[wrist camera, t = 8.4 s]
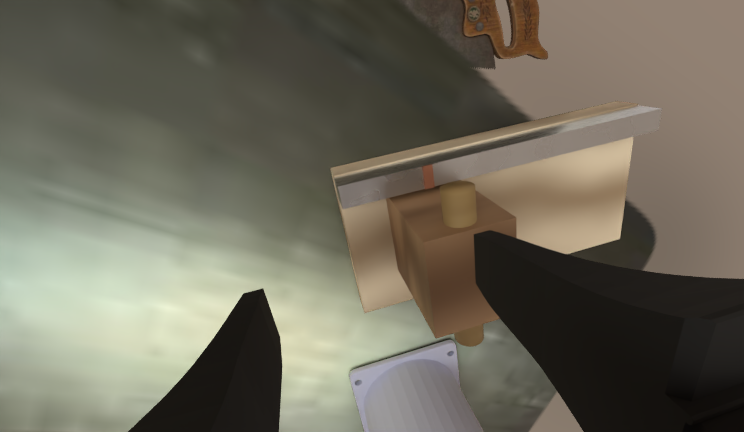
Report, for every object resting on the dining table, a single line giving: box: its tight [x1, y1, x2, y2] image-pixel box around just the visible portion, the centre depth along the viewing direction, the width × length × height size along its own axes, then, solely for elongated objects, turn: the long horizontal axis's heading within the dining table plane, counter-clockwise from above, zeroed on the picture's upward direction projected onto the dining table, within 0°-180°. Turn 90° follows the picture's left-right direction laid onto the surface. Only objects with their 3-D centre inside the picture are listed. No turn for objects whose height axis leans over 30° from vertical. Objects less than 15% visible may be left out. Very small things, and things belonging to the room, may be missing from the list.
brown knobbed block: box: [386, 180, 517, 346], centre depth 18 cm, size 8×4×6 cm, turn 10°
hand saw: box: [399, 0, 548, 69], centre depth 18 cm, size 24×5×1 cm, turn 94°
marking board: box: [330, 101, 662, 313], centre depth 22 cm, size 9×18×3 cm, turn 100°
